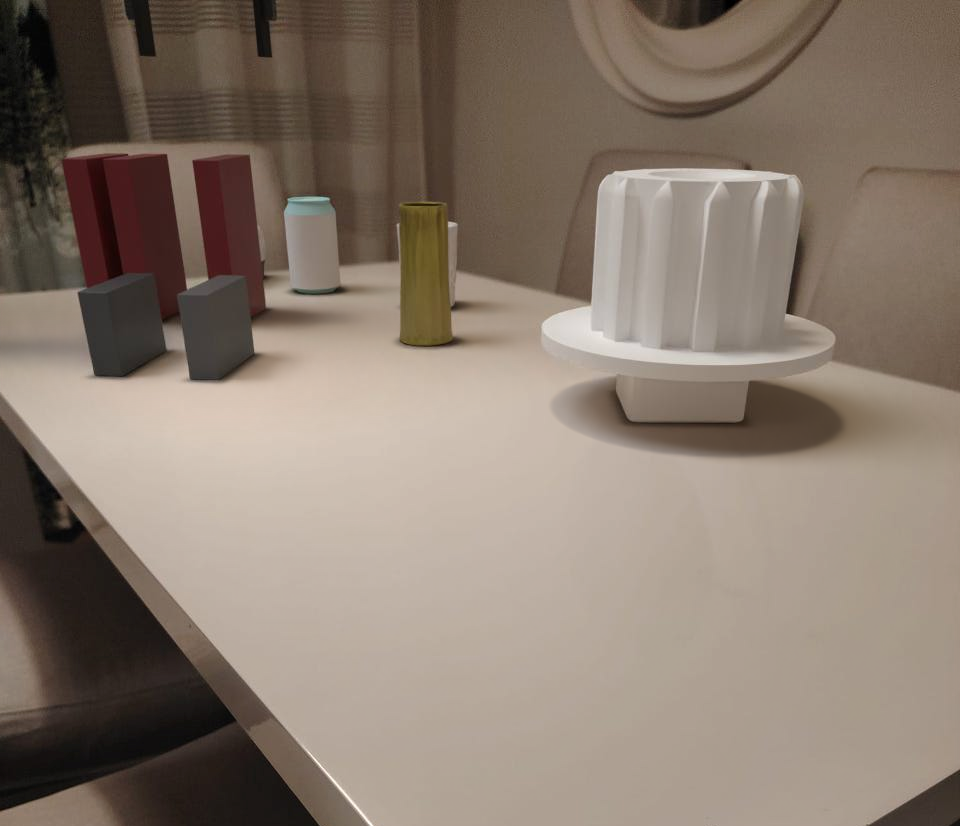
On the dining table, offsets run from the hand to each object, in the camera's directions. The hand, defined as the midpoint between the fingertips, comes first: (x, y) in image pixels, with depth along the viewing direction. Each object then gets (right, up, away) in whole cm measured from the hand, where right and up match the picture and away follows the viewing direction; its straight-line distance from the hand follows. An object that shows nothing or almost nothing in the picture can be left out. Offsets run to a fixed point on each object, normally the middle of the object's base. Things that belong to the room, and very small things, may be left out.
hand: (206, 57), depth 105 cm
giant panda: (-5, -12, +36) cm, 38 cm away
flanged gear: (+49, -44, -19) cm, 68 cm away
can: (+7, -15, +30) cm, 34 cm away
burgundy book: (0, -24, +14) cm, 28 cm away
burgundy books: (-13, -23, +15) cm, 31 cm away
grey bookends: (-1, -36, -7) cm, 37 cm away
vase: (+24, -31, +3) cm, 40 cm away
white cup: (+24, -21, +20) cm, 38 cm away
